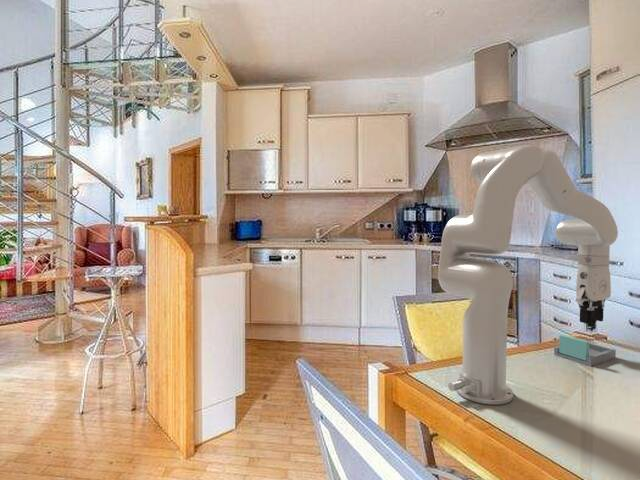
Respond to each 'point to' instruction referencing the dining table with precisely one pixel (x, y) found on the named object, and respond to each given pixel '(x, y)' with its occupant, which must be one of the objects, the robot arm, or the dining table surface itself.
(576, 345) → the clamp jaw
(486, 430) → the dining table surface
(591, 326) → the push button
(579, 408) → the dining table surface
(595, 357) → the tray
